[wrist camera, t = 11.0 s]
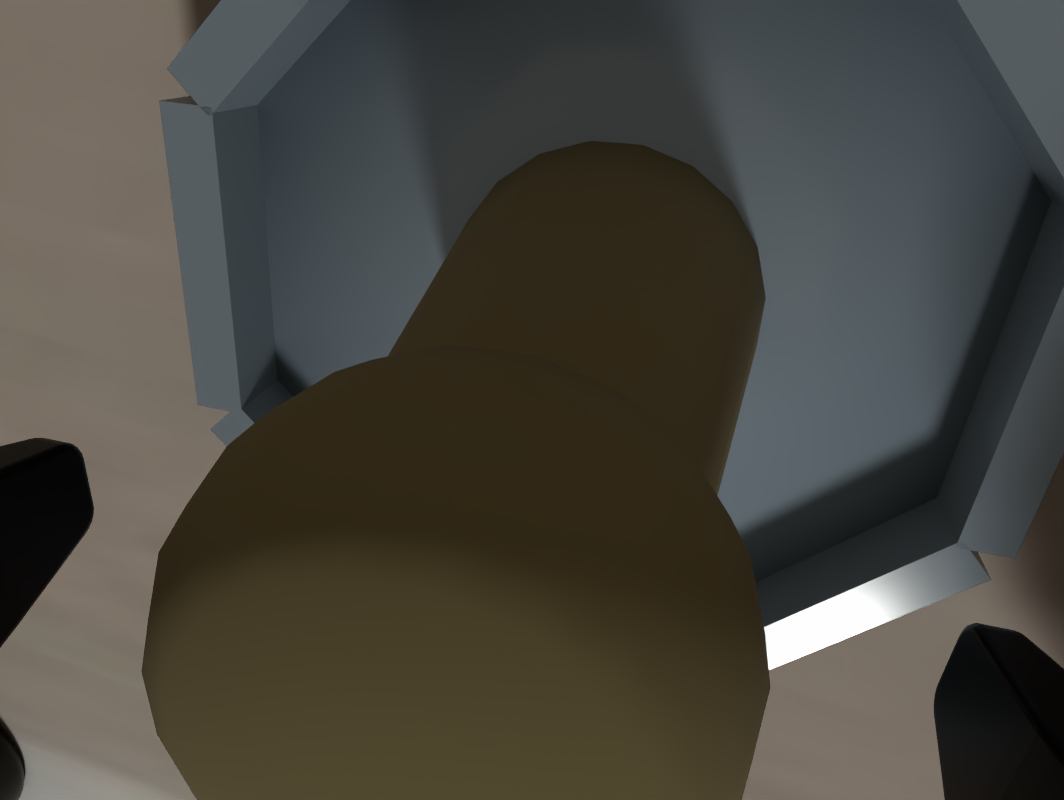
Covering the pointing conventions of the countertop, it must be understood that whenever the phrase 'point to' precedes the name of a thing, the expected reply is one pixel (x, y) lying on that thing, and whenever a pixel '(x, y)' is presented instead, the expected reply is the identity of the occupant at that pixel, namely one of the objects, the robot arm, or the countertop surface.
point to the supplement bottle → (10, 769)
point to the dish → (739, 173)
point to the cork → (492, 526)
